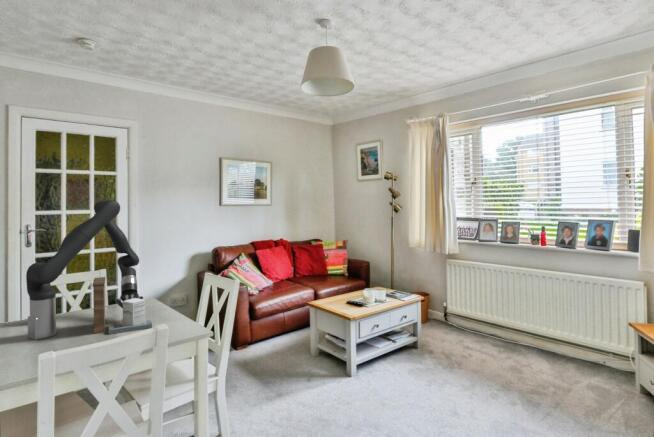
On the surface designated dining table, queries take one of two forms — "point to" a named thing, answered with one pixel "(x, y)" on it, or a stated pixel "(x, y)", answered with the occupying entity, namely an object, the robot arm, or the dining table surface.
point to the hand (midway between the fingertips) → (130, 314)
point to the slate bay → (130, 328)
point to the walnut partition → (99, 304)
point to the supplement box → (133, 312)
